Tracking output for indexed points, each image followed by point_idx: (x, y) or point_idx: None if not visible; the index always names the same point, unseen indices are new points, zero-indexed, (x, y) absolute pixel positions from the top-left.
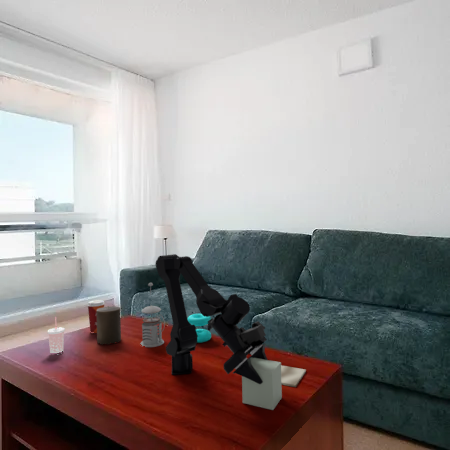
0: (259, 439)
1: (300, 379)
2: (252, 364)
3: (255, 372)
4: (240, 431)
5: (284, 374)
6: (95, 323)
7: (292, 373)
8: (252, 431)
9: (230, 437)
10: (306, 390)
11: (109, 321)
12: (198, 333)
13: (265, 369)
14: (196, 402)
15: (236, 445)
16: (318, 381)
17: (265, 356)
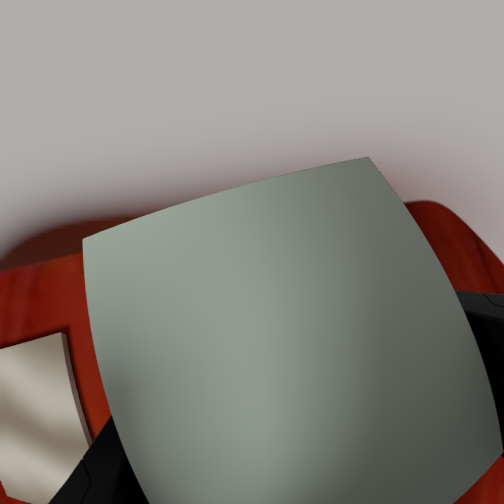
0: (434, 213)
1: (14, 348)
2: (413, 463)
3: (468, 297)
4: (461, 272)
5: (21, 420)
6: None
7: (1, 392)
8: (436, 248)
9: (484, 271)
10: (68, 283)
11: None
12: None
13: (391, 236)
14: (459, 500)
15: (480, 238)
16: (5, 286)
17: (79, 488)
